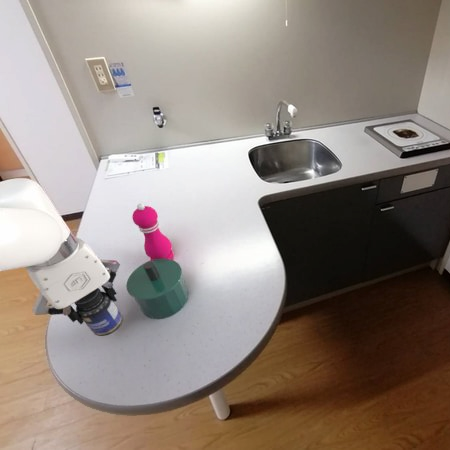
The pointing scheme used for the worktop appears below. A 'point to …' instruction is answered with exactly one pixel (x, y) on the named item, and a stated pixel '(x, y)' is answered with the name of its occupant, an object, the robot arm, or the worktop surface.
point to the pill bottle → (99, 313)
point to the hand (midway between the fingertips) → (96, 308)
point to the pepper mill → (152, 233)
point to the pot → (165, 303)
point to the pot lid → (154, 279)
